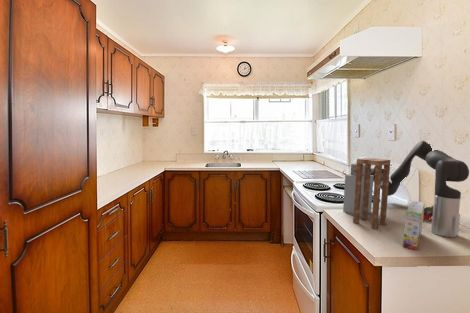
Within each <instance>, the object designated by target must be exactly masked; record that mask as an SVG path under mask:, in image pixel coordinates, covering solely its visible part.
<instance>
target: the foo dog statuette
mask: <svg viewBox="0 0 470 313" xmlns="http://www.w3.org/2000/svg"><path fill="white" fill-rule="evenodd" d="M432 216H433V205H431V206H428V207H427V206H426V207H424V215H423V222H424V221H425V219H426V220H429V219H430V220H431V221H432Z"/></svg>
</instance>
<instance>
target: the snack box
mask: <svg viewBox="0 0 470 313" xmlns="http://www.w3.org/2000/svg"><path fill="white" fill-rule="evenodd" d="M425 204H426V202H424V201H419V200H411V201H410V203H409V205H408V208H407V210H406V214H405V225H404V232H403V241H402V242H403V243H402V247H404V248H408V249H411V250H414V251H417V250H418V249H419V245H420V241H421V237H422V232H423V222H424V221H423V215H424V208H425Z"/></svg>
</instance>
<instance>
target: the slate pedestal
mask: <svg viewBox="0 0 470 313" xmlns="http://www.w3.org/2000/svg"><path fill="white" fill-rule="evenodd" d="M373 178H374V175H370V188H369V203H368V214H370V213H372V207H373V193H374V182H373ZM355 185H356V176H354V175H351V173H347V174H345V175H344V187H343V188H344V192H343V205H342V206H343V208H342V212H345V213H348V214H351V215H354V200H355ZM363 191H364V176H362V185H361V200H360V216H359V217H362V206H363Z"/></svg>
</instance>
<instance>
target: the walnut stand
mask: <svg viewBox="0 0 470 313" xmlns="http://www.w3.org/2000/svg"><path fill="white" fill-rule="evenodd" d="M356 163H357V169H356V185H355V200H354V214H353V217H352V218H353V219H352V221H353V222H352V223H353V224H360V217H361V220H364V221H367V220H368V219H369V218H368V217H369V216H368V214H369V213H368V203H369V188H370V174H371V168H372V166H375V165H376V168H375V182H373V195H372V209H371V214H372V215H371V227H370V228H371V229H374V230H376V229H378V227H379V225H381V226H386V224H387V212H388V211H387V210H388V198H389V196H388V186H389V181H390V174H391V173H390V171H391V159H386V158H385V159H384V158H374V157H363V158H361V157H360V158H357V159H356ZM363 164H365V176H364V191H363V206H362V216H360V200H361V185H362V170H363ZM382 169H384V170H383V184H382V189H381V174H382ZM380 198H381V199H380ZM380 201H381V202H380ZM379 211H380V212H379ZM379 213H380V214H379Z"/></svg>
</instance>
